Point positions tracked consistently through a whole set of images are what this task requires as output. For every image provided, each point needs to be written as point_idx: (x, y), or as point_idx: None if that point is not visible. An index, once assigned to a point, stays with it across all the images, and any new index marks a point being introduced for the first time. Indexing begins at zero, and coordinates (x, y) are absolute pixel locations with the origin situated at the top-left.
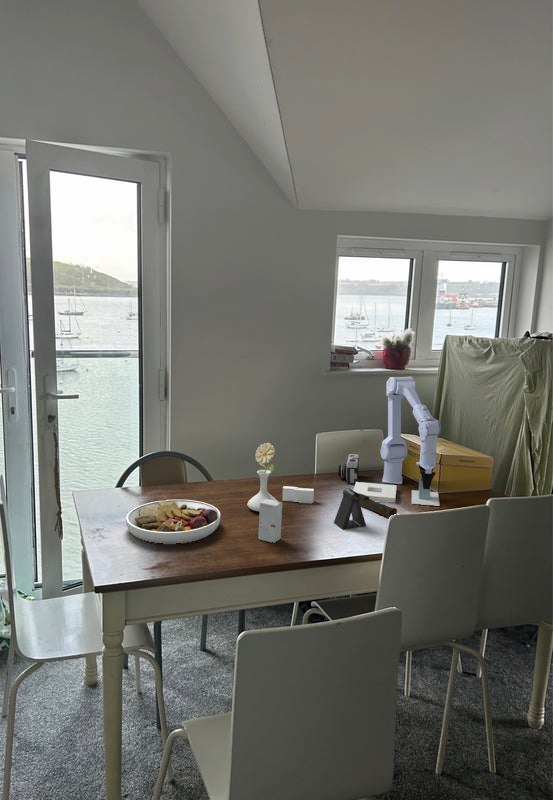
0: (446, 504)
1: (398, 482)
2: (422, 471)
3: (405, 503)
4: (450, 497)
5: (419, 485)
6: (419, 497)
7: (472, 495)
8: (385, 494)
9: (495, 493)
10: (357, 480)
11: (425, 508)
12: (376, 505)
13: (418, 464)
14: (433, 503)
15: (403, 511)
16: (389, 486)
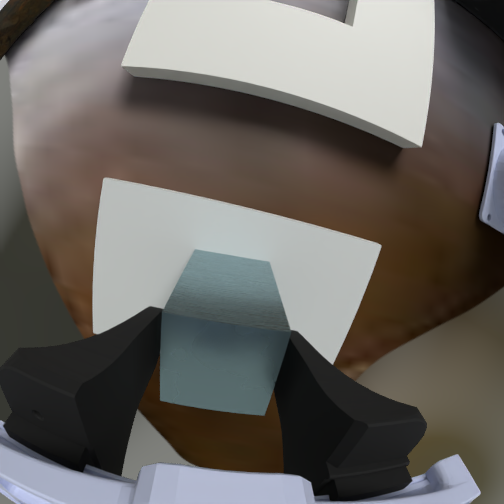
0: None
1: (490, 204)
2: (22, 395)
3: (133, 142)
4: None
5: (215, 291)
6: (193, 255)
7: None
8: (204, 11)
9: None
10: (481, 16)
11: (67, 251)
12: (8, 2)
13: (136, 491)
14: (121, 315)
15: (25, 123)
16: (396, 86)
